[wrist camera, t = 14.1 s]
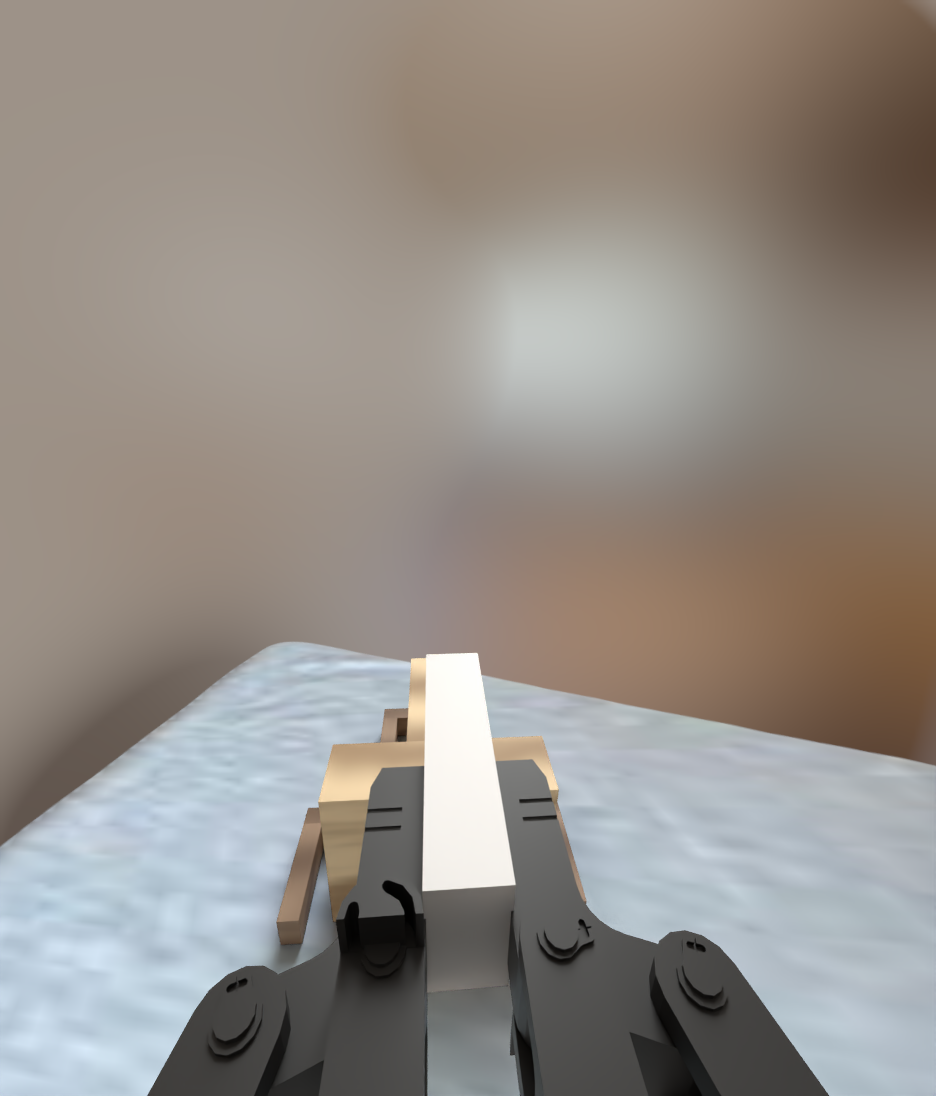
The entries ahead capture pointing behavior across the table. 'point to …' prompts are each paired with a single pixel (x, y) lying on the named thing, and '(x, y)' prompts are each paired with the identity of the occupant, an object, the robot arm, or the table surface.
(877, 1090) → the table surface
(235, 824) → the table surface
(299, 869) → the walnut T frame
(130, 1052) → the table surface
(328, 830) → the oak T block
